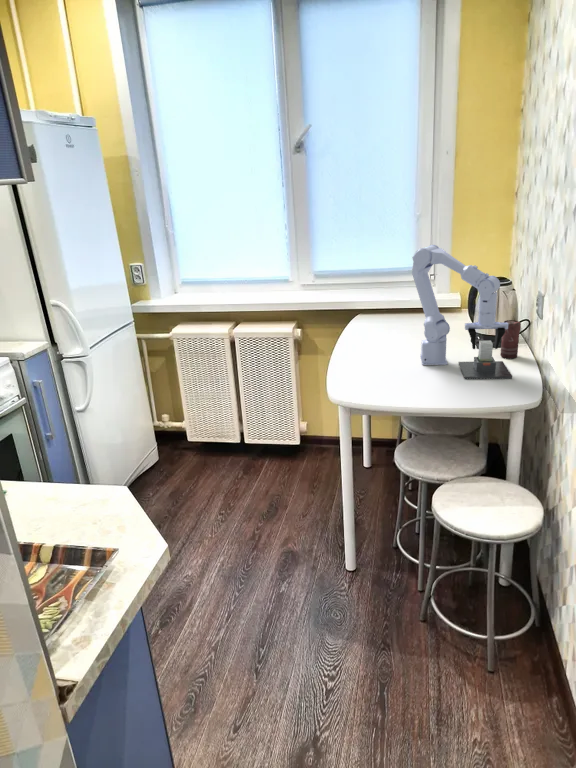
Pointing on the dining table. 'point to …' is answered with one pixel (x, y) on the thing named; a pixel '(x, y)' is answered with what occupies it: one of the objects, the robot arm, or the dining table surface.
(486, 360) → the column
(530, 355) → the dining table surface
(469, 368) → the stand
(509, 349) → the can
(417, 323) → the dining table surface
